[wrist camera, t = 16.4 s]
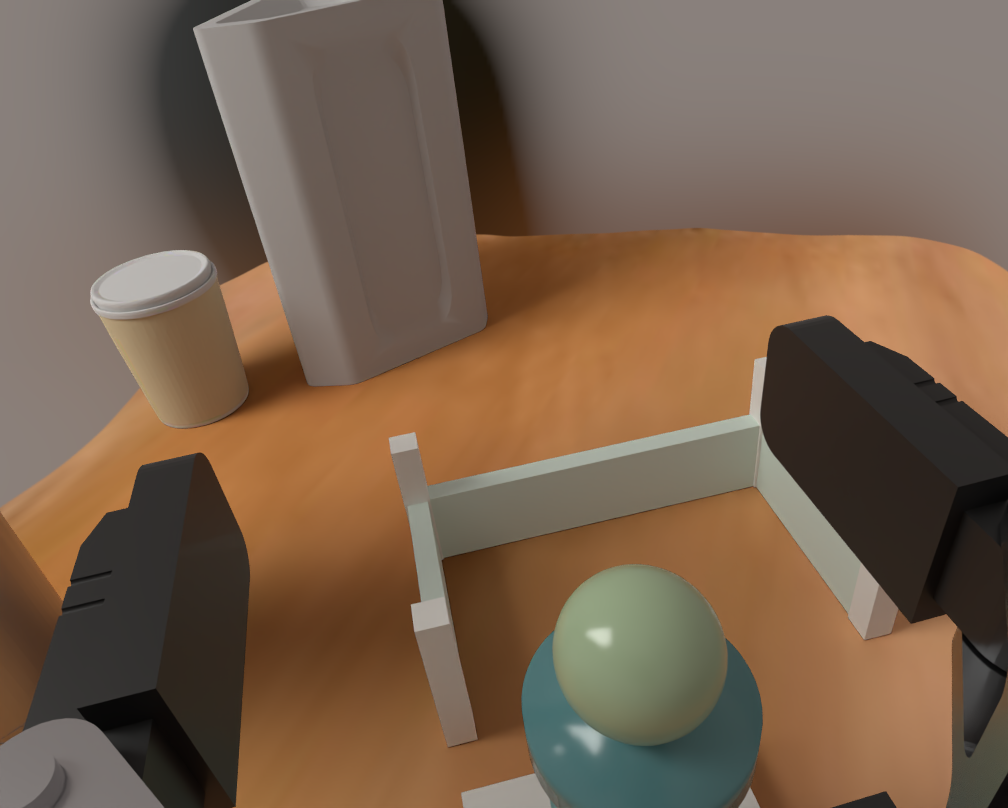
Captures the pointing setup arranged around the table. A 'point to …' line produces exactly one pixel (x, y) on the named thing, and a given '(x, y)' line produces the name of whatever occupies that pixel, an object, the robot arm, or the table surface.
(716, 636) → the teal peg with ball
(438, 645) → the rectangular frame with posts
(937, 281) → the table surface
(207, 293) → the coffee cup
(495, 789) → the stone tile
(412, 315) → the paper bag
